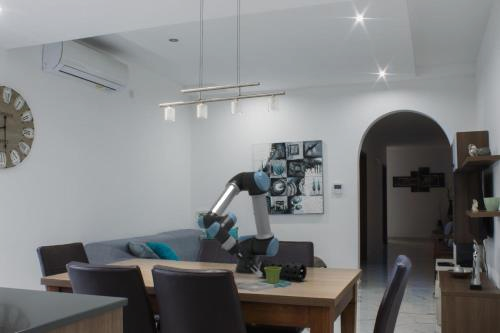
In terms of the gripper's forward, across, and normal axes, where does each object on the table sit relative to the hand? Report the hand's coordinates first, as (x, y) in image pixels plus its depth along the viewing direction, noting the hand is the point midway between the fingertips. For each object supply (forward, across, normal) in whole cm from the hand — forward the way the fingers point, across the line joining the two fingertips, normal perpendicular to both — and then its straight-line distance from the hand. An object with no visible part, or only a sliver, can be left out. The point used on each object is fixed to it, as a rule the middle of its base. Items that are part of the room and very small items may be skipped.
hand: (259, 273), depth 273 cm
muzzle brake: (+16, -16, +6) cm, 24 cm away
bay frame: (+6, +3, -3) cm, 7 cm away
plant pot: (+10, 0, +1) cm, 10 cm away
